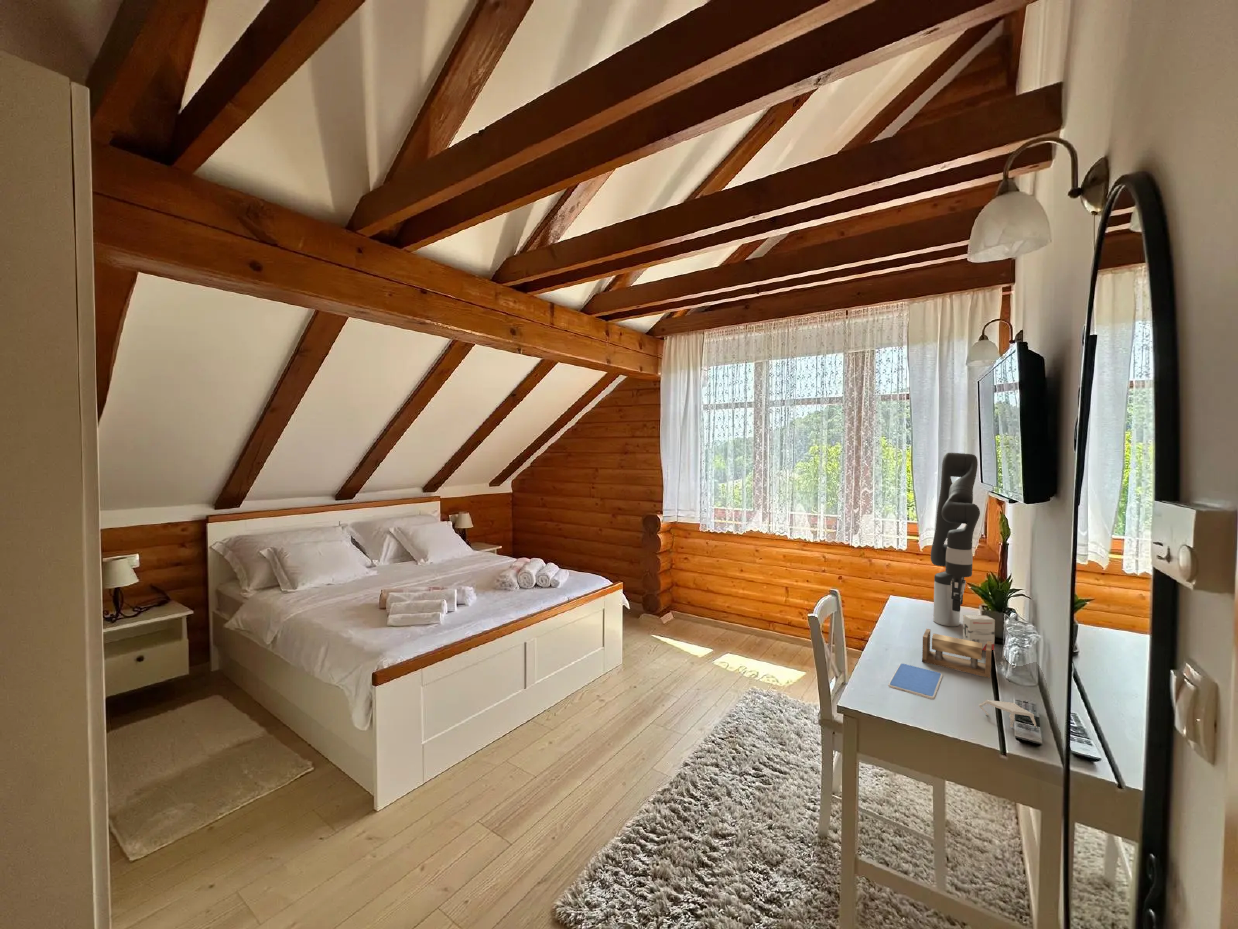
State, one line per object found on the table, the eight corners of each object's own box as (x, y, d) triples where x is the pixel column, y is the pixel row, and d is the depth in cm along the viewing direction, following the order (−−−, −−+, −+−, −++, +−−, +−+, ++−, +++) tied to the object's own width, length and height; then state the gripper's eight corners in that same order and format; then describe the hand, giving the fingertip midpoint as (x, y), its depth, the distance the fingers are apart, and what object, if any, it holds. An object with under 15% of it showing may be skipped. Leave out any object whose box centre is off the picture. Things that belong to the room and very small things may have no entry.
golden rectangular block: (981, 654, 167) (982, 643, 167) (981, 660, 163) (981, 648, 163) (933, 644, 176) (933, 633, 176) (931, 649, 172) (931, 638, 172)
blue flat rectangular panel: (933, 701, 148) (934, 697, 148) (887, 688, 156) (887, 684, 156) (943, 677, 163) (943, 673, 162) (899, 665, 171) (900, 662, 171)
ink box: (986, 645, 185) (987, 614, 184) (994, 651, 180) (995, 619, 179) (961, 644, 186) (962, 614, 185) (969, 650, 181) (970, 619, 180)
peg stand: (925, 652, 179) (926, 628, 179) (991, 667, 167) (991, 642, 167) (922, 661, 172) (922, 636, 172) (989, 678, 160) (990, 651, 160)
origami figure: (1030, 720, 137) (1031, 703, 136) (1037, 736, 130) (1037, 718, 129) (977, 708, 143) (977, 692, 143) (980, 723, 136) (981, 706, 135)
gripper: (970, 567, 160) (969, 616, 161) (974, 558, 171) (972, 604, 172) (943, 563, 164) (941, 611, 166) (948, 555, 176) (946, 599, 177)
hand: (957, 607), depth 169 cm, fingers open, 8 cm apart
